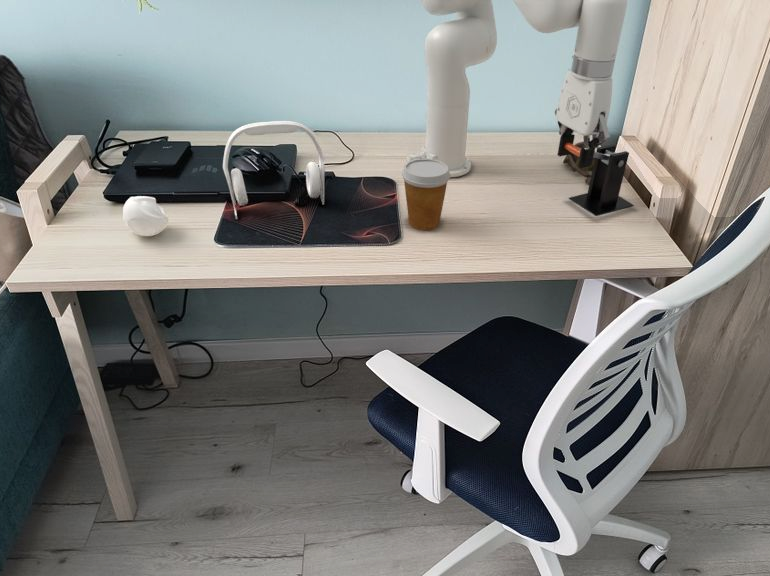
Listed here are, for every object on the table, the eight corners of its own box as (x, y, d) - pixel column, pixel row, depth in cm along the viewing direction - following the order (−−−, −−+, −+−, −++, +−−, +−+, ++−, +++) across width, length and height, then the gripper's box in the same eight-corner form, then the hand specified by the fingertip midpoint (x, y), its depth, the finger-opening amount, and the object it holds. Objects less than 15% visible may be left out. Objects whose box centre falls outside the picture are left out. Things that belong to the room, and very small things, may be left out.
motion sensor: (175, 238, 122) (166, 201, 117) (134, 247, 119) (123, 210, 114) (164, 220, 127) (156, 184, 122) (124, 229, 124) (113, 192, 119)
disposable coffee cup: (453, 217, 134) (456, 162, 126) (438, 238, 127) (441, 181, 119) (410, 208, 136) (411, 154, 128) (393, 228, 129) (394, 172, 121)
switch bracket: (594, 220, 136) (607, 162, 127) (567, 202, 142) (578, 146, 133) (632, 209, 140) (647, 153, 132) (605, 193, 146) (618, 138, 138)
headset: (323, 194, 139) (318, 112, 128) (330, 209, 134) (325, 124, 123) (229, 204, 134) (214, 119, 122) (232, 220, 129) (217, 133, 117)
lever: (579, 160, 126) (584, 149, 125) (562, 150, 129) (567, 139, 128) (621, 169, 133) (627, 158, 132) (604, 159, 137) (609, 149, 136)
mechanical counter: (609, 146, 154) (570, 133, 153) (617, 162, 143) (575, 149, 142) (597, 174, 158) (559, 162, 157) (603, 192, 147) (562, 179, 146)
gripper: (547, 55, 121) (533, 148, 133) (608, 83, 110) (587, 181, 122) (578, 52, 124) (562, 142, 136) (640, 78, 113) (617, 174, 125)
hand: (574, 159), depth 129 cm, fingers closed on lever, 5 cm apart
